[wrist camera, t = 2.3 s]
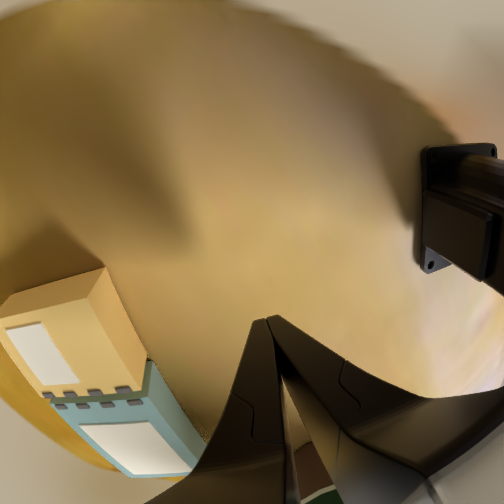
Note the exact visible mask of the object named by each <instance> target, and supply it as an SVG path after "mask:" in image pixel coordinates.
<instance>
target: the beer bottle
mask: <svg viewBox="0 0 504 504" xmlns="http://www.w3.org/2000/svg"><path fill="white" fill-rule="evenodd" d="M294 460H295V467H296V473H297V480H298V487H299V495H300V501H301V504H344V503H343V501H342V499H341V497H340V495H339V493H338V491H337V489H336V487H335V484H334V483H333V481H332V479H331V477H330V475H329V474H328V472H327V470H326V468H325V466H324V464H323V462H322V460H321V458H320V456H319V454H318V452H317V450H316V448H315V446H314V444H313V442H310V443H307V444H305V445H304V446H303V447H301V448H300V449H299V450H298V451H297V452H295V453H294Z"/></svg>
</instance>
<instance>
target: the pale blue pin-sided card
mask: <svg viewBox="0 0 504 504" xmlns="http://www.w3.org/2000/svg"><path fill="white" fill-rule="evenodd" d="M49 404H50V405H51V406H52V407H53V408H54V409H55V410H56V411H57V413H58V414H59V415H60V416H61V417H62V418H63V419H64V420H65V421H66V422H67V423H68V424H69V425H70V426H71V427H72V428H73V429H74V430H75V431H76V432H77V433H78V434H79V435H80V436H81V437H82V438H83V439H84V440H85V441H86V442H87V443H88V444H90V445H91V446H92V447H93V448H94V449H95V450H96V451H97V452H99V453H100V454H101V455H102V456H103V457H104V458H106V459H107V460H108V461H109V462H110V463H112V464H113V465H114V466H115V467H117V468H118V469H119V470H120V471H122V472H123V473H124V474H126V475H127V476H128V477H130V478H132V477H133V478H135V477H136V478H139V477H140V478H148V477H173V476H186V475H188V474H189V473H190V472H191V471H192V470H193V468H194V467H195V466H196V464H197V462H198V460H199V459H200V457H201V455H202V453H203V451H204V449H205V448H206V446H207V444H206V443H205V442H204V440H203V439H202V437H201V436H200V435H199V433H198V432H197V430H196V429H195V428H194V426H193V425H192V423H191V422H190V420H189V419H188V417H187V416H186V414H185V413H184V411H183V410H182V408H181V407H180V405H179V404H178V402H177V400H176V399H175V397H174V396H173V394H172V392H171V391H170V389H169V388H168V386H167V384H166V383H165V381H164V379H163V378H162V376H161V374H160V373H159V371H158V369H157V367H156V366H155V364H154V362H153V361H148V362H146V363H145V369H144V376H143V382H142V389H141V390H140V391H132V393H125V394H118V393H114V394H103V396H92V397H91V396H78V397H76V398H66V397H55V398H51V401H50V403H49Z"/></svg>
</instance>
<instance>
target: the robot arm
mask: <svg viewBox="0 0 504 504" xmlns="http://www.w3.org/2000/svg"><path fill="white" fill-rule="evenodd" d="M430 155H431V156H432V157H431V160H430ZM421 174H422V237H421V255H420V268H421V270H423V271H424V272H425V273H427V274H429V273H432V272H435V271H437V270H440V269H442V268H444V267H447V266H449V265H451V264H453V265H455V266H456V267H458V268H459V269H461V270H462V271H464V272H465V273H467V274H468V275H470V276H471V277H472V278H474V279H475V280H477V281H479V282H481V281H482V282H484V283H485V284H487V285H488V286H490V287H491V288H492V289H494V290H495V291H496V292H498V293H499V294H501V295H502V296H503V297H504V160H500V159H497V148H496V146H495V145H494V144H492V143H469V144H468V143H467V144H449V145H435V146H426V147H424V148H423V149H422V152H421ZM281 376H282V377H281ZM282 379H283V381H284V384H285V386H286V388H287V390H288V392H289V394H290V396H291V398H292V401H293V403H294V405H295V407H296V409H297V411H298V413H299V415H300V417H301V419H302V421H303V423H304V425H305V427H306V429H307V431H308V433H309V436H310V438H311V440H312V442H313V444H314V446H315V448H316V450H317V452H318V454H319V456H320V458H321V460H322V462H323V464H324V466H325V468H326V470H327V472H328V474H329V475H330V477H331V479H332V481H333V483H334V484H335V487H336V489H337V491H338V493H339V495H340V497H341V499H342V501H343V503H344V504H504V386H503V387H500V388H498V389H495V390H491V391H486V392H480V393H474V394H468V395H461V396H453V397H445V398H426V397H422V396H418V395H416V394H413V393H411V392H408V391H406V390H404V389H401V388H399V387H397V386H395V385H392V384H390V383H388V382H386V381H384V380H381V379H379V378H377V377H375V376H373V375H371V374H369V373H367V372H366V371H364V370H362V369H360V368H359V367H357V366H355V365H354V364H352V363H351V362H349V361H348V360H346V361H345V359H344V358H343V357H341V356H340V355H338V354H337V353H335V352H334V351H332V350H330V349H329V348H327V347H326V346H324V345H323V344H321V343H320V342H318V341H317V340H315V339H314V338H312V337H311V336H309V335H308V334H306V333H305V332H303V331H302V330H300V329H299V328H297V327H296V326H294V325H293V324H291V323H290V322H288V321H287V320H285V319H284V318H282V317H281V316H280V315H273V316H270V317H267V318H266V319H265V318H262V319H258V320H255V321H253V323H252V326H251V329H250V332H249V335H248V338H247V341H246V345H245V348H244V351H243V354H242V357H241V360H240V363H239V366H238V370H237V373H236V376H235V379H234V382H233V385H232V388H231V391H230V394H229V397H228V400H227V403H226V405H225V408H224V411H223V413H222V416H221V418H220V420H219V422H218V424H217V426H216V429H215V431H214V432H213V434H212V436H211V438H210V440H209V442H208V444H207V446H206V448H205V449H204V451H203V453H202V455H201V457H200V459H199V460H198V462H197V464H196V466H195V467H194V468H193V470H192V471H191V472H190V473H189V474H188V475H187V476H186V477H185V478H184V479H182V480H181V481H179V482H178V483H176V484H175V485H173V486H172V487H170V488H169V489H167V490H166V491H164V492H163V493H161V494H159V495H158V496H156V497H154V498H153V499H151V500H150V501H148V502H146V503H144V504H301V501H300V495H299V487H298V480H297V473H296V467H295V460H294V453H293V446H292V440H291V433H290V426H289V420H288V413H287V407H286V400H285V394H284V387H283V382H282Z"/></svg>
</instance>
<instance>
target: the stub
mask: <svg viewBox="0 0 504 504" xmlns="http://www.w3.org/2000/svg"><path fill="white" fill-rule="evenodd" d="M0 342H1V344H2V345H3V347H4V348H5V350H6V351H7V353H8V354H9V356H10V357H11V359H12V360H13V361H14V363H15V364H16V366H17V367H18V368H19V370H20V371H21V372H22V374H23V375H24V376H25V378H26V379H27V380H28V382H29V383H30V384H31V385H32V387H33V388H34V389H35V390H36V391H37V393H38V394H39V395H40V396H41V397H45V398H55V397H66V398H76V397H78V396H91V397H92V396H103V394H114V393H118V394H125V393H132V391H140V390H141V389H142V382H143V376H144V369H145V363H146V357H147V352H146V350H145V348H144V347H143V345H142V343H141V341H140V339H139V337H138V335H137V333H136V331H135V329H134V327H133V325H132V323H131V321H130V319H129V317H128V315H127V313H126V311H125V309H124V307H123V305H122V303H121V301H120V298H119V296H118V294H117V292H116V289H115V287H114V285H113V283H112V280H111V278H110V276H109V273H108V271H107V269H106V267H104V268H100V269H97V270H93V271H90V272H86V273H83V274H79V275H76V276H72V277H69V278H65V279H62V280H58V281H55V282H51V283H48V284H44V285H41V286H38V287H34V288H31V289H28V290H24V291H21V292H18V293H14V294H11V295H10V296H9V298H8V299H7V300H6V301H5V302H4V303H3V304H2V306H1V307H0Z"/></svg>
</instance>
